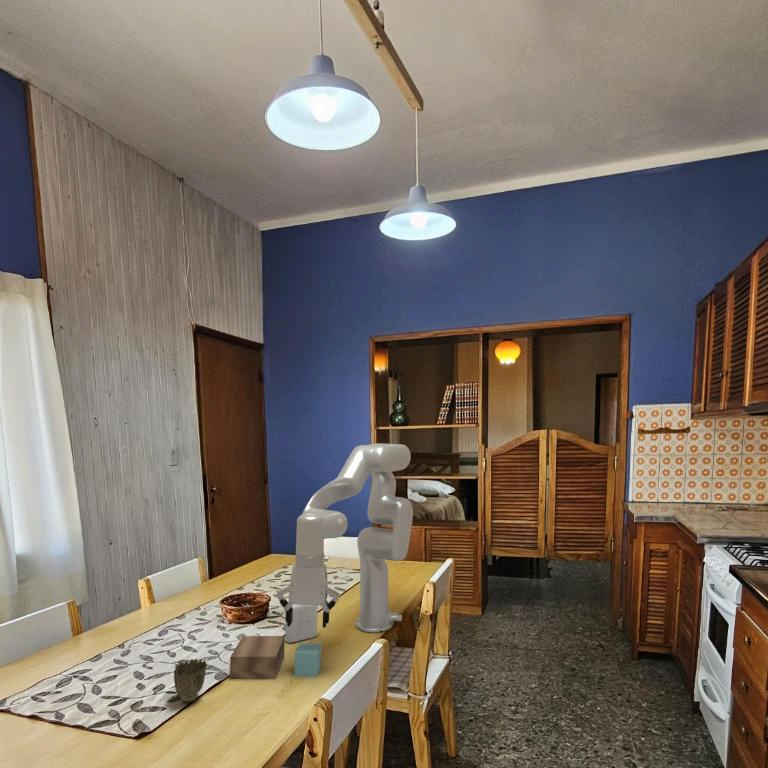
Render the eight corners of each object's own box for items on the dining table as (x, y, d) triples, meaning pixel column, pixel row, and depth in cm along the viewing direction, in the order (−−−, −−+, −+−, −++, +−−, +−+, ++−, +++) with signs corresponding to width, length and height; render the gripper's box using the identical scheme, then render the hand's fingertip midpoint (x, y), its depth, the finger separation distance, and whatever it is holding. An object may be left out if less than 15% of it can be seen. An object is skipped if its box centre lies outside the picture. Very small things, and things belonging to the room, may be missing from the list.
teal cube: (320, 665, 131) (321, 643, 132) (316, 677, 125) (317, 653, 126) (299, 665, 132) (299, 642, 132) (294, 676, 126) (294, 653, 126)
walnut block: (284, 657, 136) (284, 635, 137) (275, 680, 124) (276, 656, 125) (242, 657, 136) (242, 636, 136) (229, 680, 124) (230, 656, 125)
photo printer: (313, 631, 152) (314, 592, 153) (319, 636, 149) (319, 596, 150) (283, 639, 147) (283, 598, 148) (288, 645, 143) (289, 603, 144)
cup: (178, 692, 118) (179, 658, 119) (209, 690, 119) (210, 657, 119) (167, 710, 111) (168, 674, 111) (199, 708, 111) (201, 673, 112)
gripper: (342, 557, 134) (340, 621, 132) (281, 555, 135) (279, 618, 133) (338, 565, 127) (336, 632, 125) (274, 563, 127) (271, 629, 126)
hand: (307, 625), depth 129 cm, fingers open, 9 cm apart
